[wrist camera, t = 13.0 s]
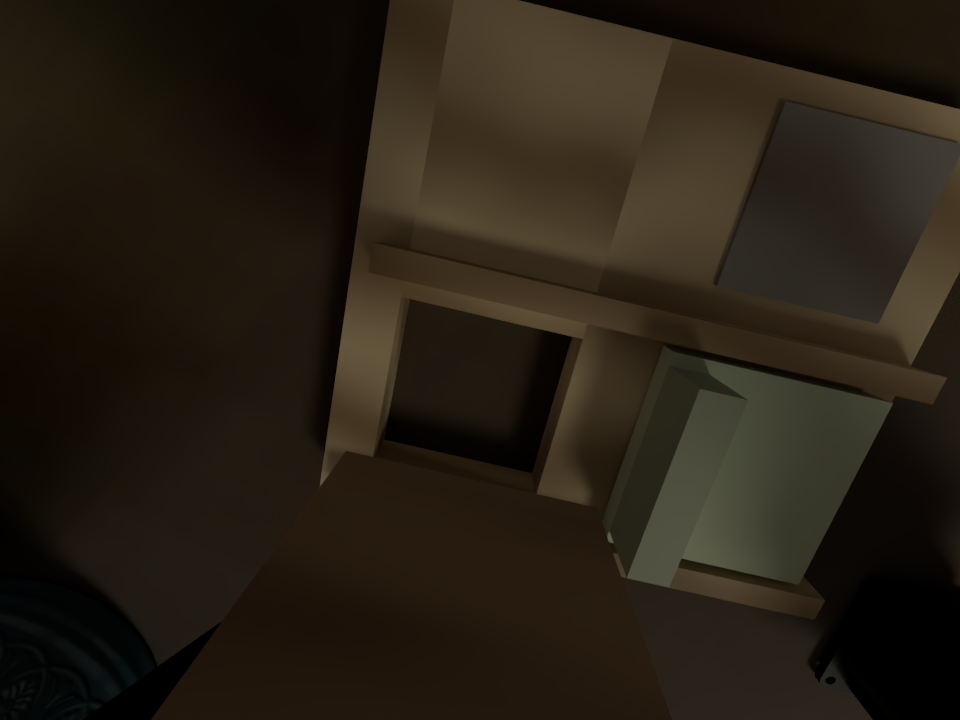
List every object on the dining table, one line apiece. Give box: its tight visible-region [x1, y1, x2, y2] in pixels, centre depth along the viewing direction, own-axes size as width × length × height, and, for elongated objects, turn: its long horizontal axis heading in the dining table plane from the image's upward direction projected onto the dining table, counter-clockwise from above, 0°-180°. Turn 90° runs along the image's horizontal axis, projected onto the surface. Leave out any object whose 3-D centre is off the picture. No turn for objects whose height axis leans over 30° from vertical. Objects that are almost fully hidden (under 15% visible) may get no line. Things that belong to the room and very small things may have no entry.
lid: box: [602, 345, 893, 587], centre depth 16 cm, size 8×8×4 cm
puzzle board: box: [320, 0, 960, 620], centre depth 17 cm, size 19×21×3 cm
